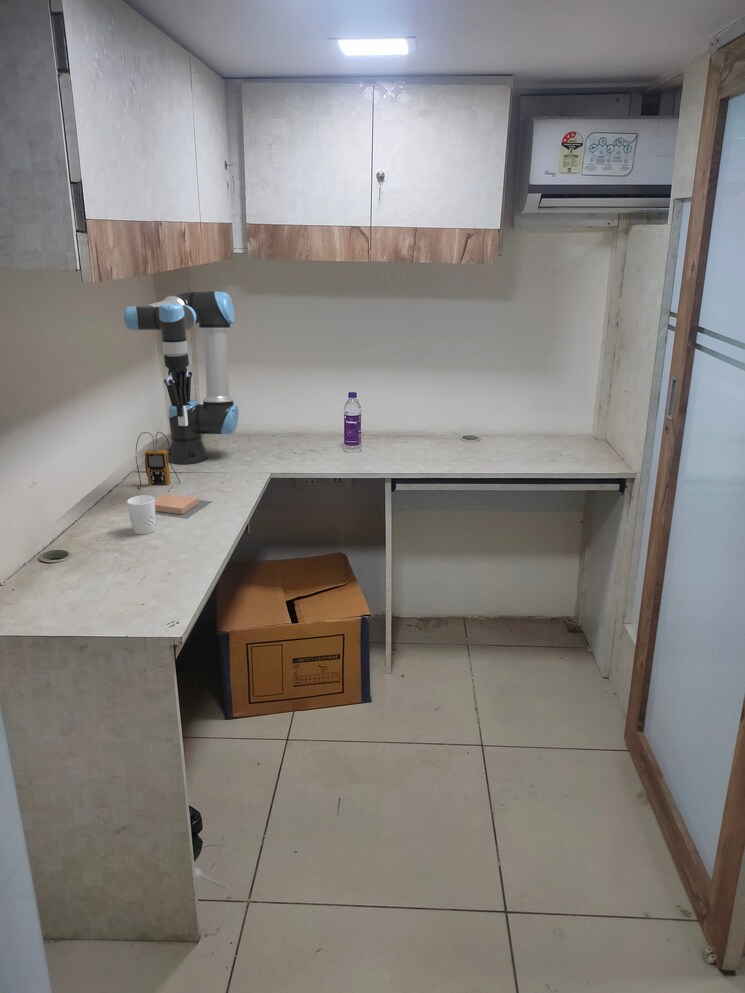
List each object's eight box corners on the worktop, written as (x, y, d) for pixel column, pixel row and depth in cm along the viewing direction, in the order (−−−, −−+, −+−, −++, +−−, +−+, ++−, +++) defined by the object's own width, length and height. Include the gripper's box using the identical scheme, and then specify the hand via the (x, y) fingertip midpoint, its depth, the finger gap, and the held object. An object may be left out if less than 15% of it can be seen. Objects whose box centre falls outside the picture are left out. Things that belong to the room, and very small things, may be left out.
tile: (167, 494, 240) (149, 504, 231) (198, 497, 237) (181, 508, 228) (167, 500, 241) (150, 510, 232) (199, 504, 238) (182, 515, 229)
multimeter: (131, 494, 249) (124, 438, 242) (141, 484, 258) (134, 430, 251) (173, 494, 248) (167, 438, 241) (181, 484, 258) (176, 431, 251)
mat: (166, 497, 246) (166, 495, 245) (212, 503, 240) (212, 501, 240) (138, 513, 231) (138, 512, 231) (187, 520, 226) (186, 518, 226)
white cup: (127, 529, 219) (123, 499, 216) (151, 523, 224) (148, 493, 220) (137, 537, 213) (133, 506, 210) (162, 531, 218) (158, 500, 215)
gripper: (177, 349, 235) (184, 419, 244) (153, 357, 223) (162, 429, 232) (197, 351, 233) (203, 420, 242) (174, 358, 221) (182, 431, 230)
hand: (183, 425), depth 237 cm, fingers closed
